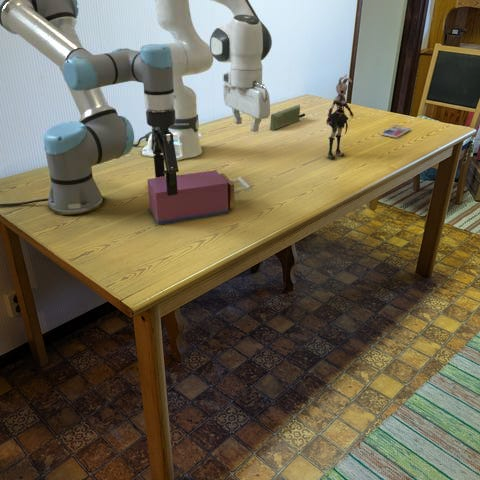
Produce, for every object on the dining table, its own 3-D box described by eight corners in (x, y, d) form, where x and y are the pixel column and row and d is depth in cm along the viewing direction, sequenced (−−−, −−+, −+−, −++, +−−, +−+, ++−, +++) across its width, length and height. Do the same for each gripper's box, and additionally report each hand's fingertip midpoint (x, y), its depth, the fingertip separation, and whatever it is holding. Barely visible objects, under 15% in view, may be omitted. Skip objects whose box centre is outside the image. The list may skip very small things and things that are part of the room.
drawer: (240, 193, 157) (241, 170, 153) (252, 205, 149) (253, 181, 146) (161, 205, 148) (160, 181, 145) (169, 218, 141) (168, 193, 137)
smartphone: (411, 128, 218) (397, 136, 208) (410, 130, 218) (396, 138, 208) (395, 124, 222) (380, 132, 211) (394, 126, 222) (380, 134, 212)
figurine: (327, 162, 183) (336, 77, 168) (315, 158, 187) (322, 74, 172) (352, 153, 191) (362, 71, 177) (339, 149, 195) (348, 69, 181)
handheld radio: (268, 129, 217) (300, 116, 234) (274, 130, 216) (306, 118, 233) (269, 113, 214) (302, 102, 231) (276, 115, 212) (308, 103, 229)
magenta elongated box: (216, 199, 155) (215, 170, 150) (227, 213, 147) (227, 182, 142) (149, 209, 148) (147, 179, 144) (158, 224, 140) (155, 193, 135)
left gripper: (188, 119, 121) (192, 200, 132) (162, 97, 142) (168, 168, 152) (157, 123, 119) (163, 204, 129) (136, 99, 139) (143, 171, 150)
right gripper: (276, 84, 135) (274, 134, 142) (238, 71, 151) (238, 118, 157) (256, 86, 132) (255, 138, 139) (219, 73, 148) (220, 120, 155)
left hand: (166, 185), depth 141 cm, fingers open, 13 cm apart
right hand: (246, 127), depth 148 cm, fingers open, 8 cm apart
